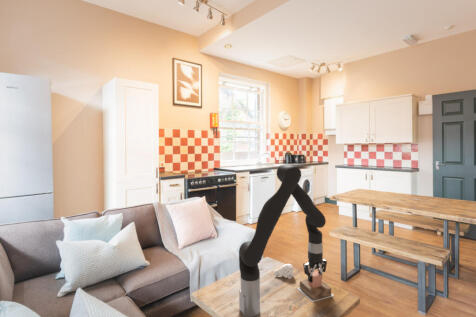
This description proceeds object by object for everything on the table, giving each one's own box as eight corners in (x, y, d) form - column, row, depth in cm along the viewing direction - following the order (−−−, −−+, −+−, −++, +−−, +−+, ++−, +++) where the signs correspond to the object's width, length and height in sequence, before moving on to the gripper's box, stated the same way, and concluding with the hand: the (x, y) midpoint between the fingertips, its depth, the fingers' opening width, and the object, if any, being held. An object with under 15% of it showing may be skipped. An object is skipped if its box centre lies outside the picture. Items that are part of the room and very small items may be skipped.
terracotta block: (313, 288, 137) (314, 276, 137) (308, 283, 142) (308, 272, 141) (321, 286, 139) (321, 275, 138) (315, 281, 143) (315, 270, 143)
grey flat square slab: (312, 304, 131) (312, 302, 131) (296, 289, 144) (296, 287, 144) (334, 297, 137) (334, 295, 136) (317, 284, 150) (317, 282, 149)
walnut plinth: (313, 300, 133) (313, 292, 133) (299, 288, 144) (299, 281, 144) (331, 295, 137) (331, 288, 137) (316, 284, 148) (316, 277, 148)
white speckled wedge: (292, 266, 153) (272, 266, 156) (294, 281, 153) (273, 280, 156) (293, 262, 159) (273, 262, 162) (294, 275, 159) (274, 275, 162)
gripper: (308, 255, 133) (308, 287, 134) (331, 250, 138) (330, 281, 139) (299, 249, 140) (299, 280, 141) (321, 245, 145) (321, 275, 146)
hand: (315, 280), depth 140 cm, fingers open, 5 cm apart
